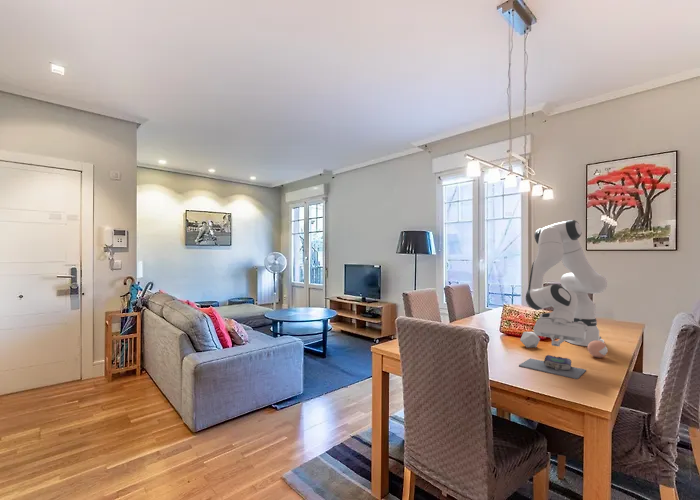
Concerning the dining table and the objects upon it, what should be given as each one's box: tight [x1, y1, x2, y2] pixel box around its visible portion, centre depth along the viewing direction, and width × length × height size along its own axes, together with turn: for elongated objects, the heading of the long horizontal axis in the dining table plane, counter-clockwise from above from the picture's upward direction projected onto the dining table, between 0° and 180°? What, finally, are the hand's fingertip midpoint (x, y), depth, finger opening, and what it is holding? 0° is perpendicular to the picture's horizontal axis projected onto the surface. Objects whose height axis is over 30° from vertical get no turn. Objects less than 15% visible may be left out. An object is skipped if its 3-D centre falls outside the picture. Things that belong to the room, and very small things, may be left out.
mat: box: [518, 358, 587, 380], centre depth 146 cm, size 14×22×1 cm, turn 43°
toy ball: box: [587, 340, 608, 359], centre depth 162 cm, size 8×8×8 cm
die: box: [519, 331, 541, 349], centre depth 181 cm, size 8×9×10 cm
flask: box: [543, 354, 572, 370], centre depth 147 cm, size 10×3×12 cm
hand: (555, 345), depth 151 cm, fingers closed
